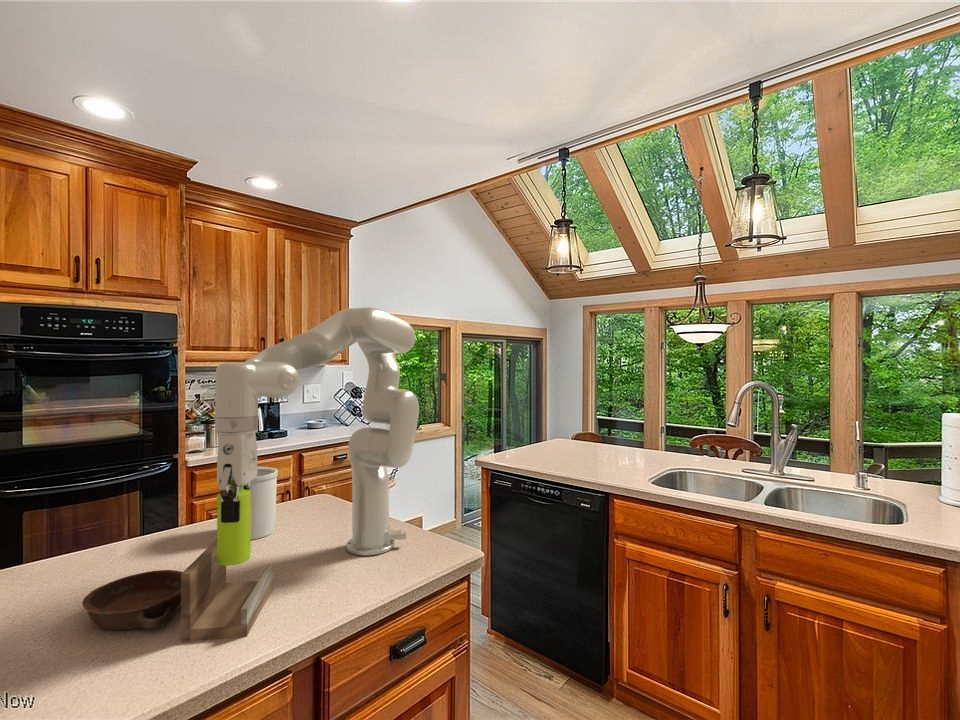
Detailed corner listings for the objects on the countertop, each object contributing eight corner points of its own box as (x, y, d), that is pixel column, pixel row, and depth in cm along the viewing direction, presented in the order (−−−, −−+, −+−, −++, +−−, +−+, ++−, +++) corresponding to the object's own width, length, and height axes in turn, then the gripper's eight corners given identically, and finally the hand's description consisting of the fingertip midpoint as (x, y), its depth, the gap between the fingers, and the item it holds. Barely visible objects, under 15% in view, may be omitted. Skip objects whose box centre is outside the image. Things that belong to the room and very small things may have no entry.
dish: (162, 581, 110) (162, 559, 110) (213, 611, 97) (213, 586, 97) (64, 615, 95) (64, 590, 95) (108, 655, 83) (108, 625, 83)
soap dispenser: (260, 557, 97) (260, 457, 97) (223, 568, 92) (223, 462, 92) (248, 550, 101) (249, 453, 101) (212, 560, 96) (212, 458, 96)
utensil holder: (241, 522, 148) (241, 465, 148) (287, 525, 146) (287, 466, 146) (208, 540, 134) (208, 477, 134) (258, 543, 132) (258, 479, 132)
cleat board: (272, 589, 106) (272, 534, 106) (246, 636, 88) (246, 570, 88) (218, 592, 104) (218, 537, 104) (181, 641, 86) (181, 574, 86)
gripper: (243, 431, 88) (242, 530, 88) (268, 419, 105) (268, 503, 105) (198, 432, 87) (197, 532, 87) (231, 420, 104) (231, 504, 104)
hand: (236, 515), depth 96 cm, fingers closed on soap dispenser, 5 cm apart
